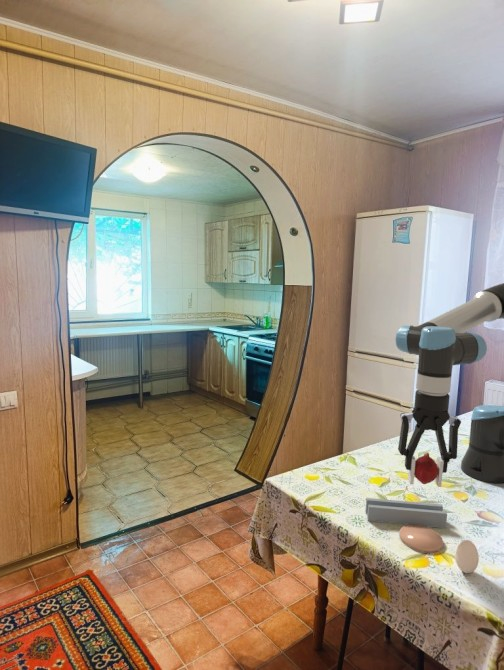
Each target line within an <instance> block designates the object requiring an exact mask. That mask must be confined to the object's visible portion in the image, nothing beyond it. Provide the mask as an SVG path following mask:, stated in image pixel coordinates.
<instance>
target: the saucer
mask: <svg viewBox="0 0 504 670" xmlns="http://www.w3.org/2000/svg"><path fill="white" fill-rule="evenodd" d="M399 539H400V541H401V542H402V543H403V544H404V545H405V546H406V547H408V548H410V549H413V550H414V551H418V552H421V553H430V554H432V553H437V552H439V551H440V550H441V549H442V548H443V544H444V543H443V537H442V536H441V535H440V534H439V533H438V532H437V531H435V530H434V529H432V528H430V527H429V526H421V525H414V524H412V525H408V524H405V525H403V526H402V527H401V528H400V529H399Z"/></svg>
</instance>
